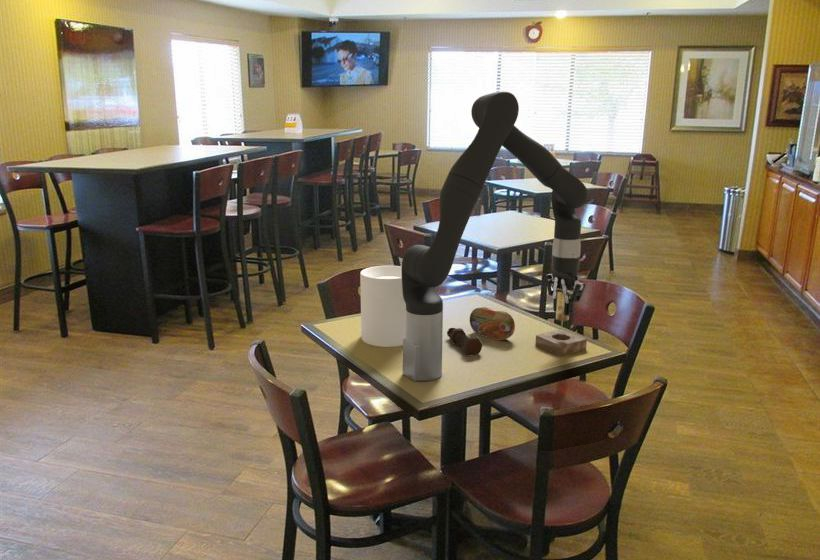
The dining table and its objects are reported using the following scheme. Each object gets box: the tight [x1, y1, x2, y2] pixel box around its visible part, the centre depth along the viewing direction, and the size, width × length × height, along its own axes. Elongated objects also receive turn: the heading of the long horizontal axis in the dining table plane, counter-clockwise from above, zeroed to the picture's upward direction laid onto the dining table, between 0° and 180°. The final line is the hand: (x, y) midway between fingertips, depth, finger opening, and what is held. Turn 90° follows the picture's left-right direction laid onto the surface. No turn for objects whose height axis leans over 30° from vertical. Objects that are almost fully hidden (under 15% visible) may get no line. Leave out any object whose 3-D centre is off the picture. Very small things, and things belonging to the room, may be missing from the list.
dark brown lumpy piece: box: [446, 327, 483, 357], centre depth 188 cm, size 6×5×15 cm
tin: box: [469, 306, 516, 341], centre depth 195 cm, size 15×3×8 cm, turn 47°
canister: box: [359, 265, 406, 348], centre depth 193 cm, size 16×16×20 cm
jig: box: [535, 328, 588, 357], centre depth 187 cm, size 10×10×3 cm
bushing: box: [555, 290, 570, 322], centre depth 185 cm, size 4×4×8 cm
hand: (562, 313), depth 185 cm, fingers closed on bushing, 3 cm apart
